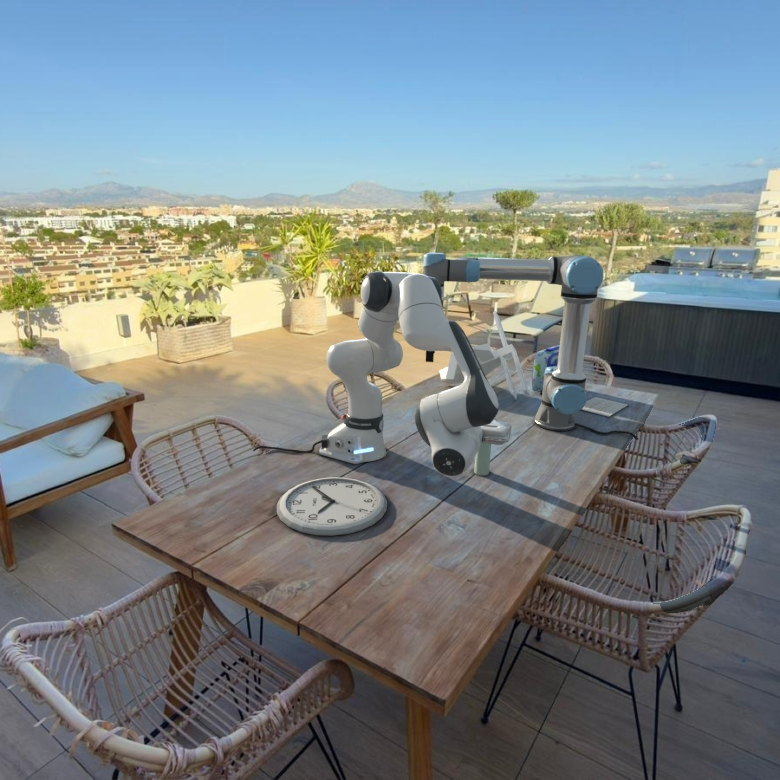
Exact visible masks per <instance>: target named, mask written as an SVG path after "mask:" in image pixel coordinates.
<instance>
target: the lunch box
mask: <svg viewBox="0 0 780 780" xmlns="http://www.w3.org/2000/svg"><path fill="white" fill-rule="evenodd" d="M559 346H560V344H559V345H553V346H550V347H546V348H545V349H542V350H539V351H538V352H537V353H536V354H535V356H534V358H533V365H532V376H531V377H532V378H531V390H532V391H533V392H537V393H542V392H543V382H544V373H545V369H546V368H547V367H553V366H557V364H558V355H559Z"/></svg>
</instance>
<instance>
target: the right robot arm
mask: <svg viewBox="0 0 780 780" xmlns="http://www.w3.org/2000/svg"><path fill="white" fill-rule="evenodd" d="M422 264H423V265H422V274H423V275H427V276H430V277H433V278H435V279H437V280H438V282H439V284H440V286H441V289H442V299H441V304H442V307H443V308H444V299H443V298H444V297H445V282H447V283H449V282H452V283H453V282H457V283H468V284H470V283H477V282H479V281H480V280H495V281H497V280H499V281H500V280H501V281H526V282H527V281H531V282H546V283H547V284H548V285H557V286H561V289H560V298H561V299H562V300H563V303H564V305H563V313H562V322H561V330H560V339H559V355H558V364H557V366H553V367H547V368H546V369H545V373H544V382H543V392H542V394H541V402H540V405H539V407H538V410H537V411H536V413H535V417H534V424H535V425H536V426H537V427H539V428H542V429H544V430H549V431H556V432H567V431H572V430H574V429H575V428H576V426H577V427H579V428H582V429H584V430H588V431H591V432H593V433H595V434H598V435H602V436H603V435H611V434H625V435H629V436H631V437H633V438H634V439H635V440H639V438H638V436H637V435H636V434H634V433H633V432H631V431H626V430H609V431H599V430H596V429H595V428H591V427H589V426H586V425H584V424H580V423H577V422H576V418H575V417H576V416H575V414H576V413H579V412H580V411H582V410H581V409H582V408H583V407H584V406H585V404H586V401H588V397H587V392H586V389H585V388H586V383H587V382H586V381H587V375H586V374H585V373H584V371H583V369H584V361H585V355H586V347H587V339H588V338H587V337H588V330H589V324H590V318H591V317H590V316H591V308H592V303H593V302H594V301H596V300H597V298H598V294H599V293H598V291H599V288H601V285H602V284H603V281H604V269H603V267H602V265H601V264H600V262H599V261H597V260H596V259H595V258H594V257H592V256H587V255H581V254H574V255H573V254H572V255H565V256H551V257H549V258H548V259H545V258H544V259H543V258H542V259H541V258H540V259H539V258H501V257H500V258H497V257H496V258H495V257H494V258H492V257H466V256H460V257H457V258H455V259H451V258H449V259H448V258H447V257H446V253H444V252H427V253H425V254H424V255H423V263H422ZM435 353H436V351H425V362H426V363H434V359H435V357H434V356H435Z"/></svg>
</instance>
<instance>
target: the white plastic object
mask: <svg viewBox="0 0 780 780" xmlns="http://www.w3.org/2000/svg"><path fill="white" fill-rule="evenodd" d="M492 315H493V319H494V321H495V324H496V325H495V326H496V328H497V332H498V335H499V338H500V342H501V345H502V347H500V348H498V349H496V350H495V349H493V348H492V347H491V346H490V344H489V343H488V342H487V343H483V344H479V345H473V346H472V348H473V350H474V353H475V355H476V357H477V359H478V361H479V363H480V366H481V368H482V370H483V372H484V374H485V376H486V377H487V375H489V374H490V373H492V372H494V371H495V370H496V369H497V368H499V367H500V366H502V370H503V373H504V376H505V380H506V383H507V386H508V390H509V393H510V394H511V395H512V397H513V398H514V399H515V400H517V392H516V391H517V390H516V388H515V385H514V381H513V378H512V375H511V371H510V369H509V365H508V361H510V360H513V363H514V366H515V369H516V372H517V376H518V380H519V382H520V385H521V389H522V391H523V393H524V395H525V396H526V397H528V396H531V395H530V390H529V388H528V387H529V386H528V384H527V381H526V378H525V375H524V371H523V369H522V368H523V367H522V366H521V362H520V359H519V355H518V352H517V349H516V347H515V346H514V345H513V343H511V344H508V341H507V337H506V334H505V331H504V328H503V325H502V321H501V318H500V315H499V314H498V312H497V311H496V310H495V311H492ZM438 372H439V376H440V381H442V383H443V384H444V385H445V386H449V385H458V384H459V385H460V384H462V383H463V382H464V376H463V374H462V371H461V369H460V367H459V365H458V362H457V360H456V358H455V355H454V353H453V352H451V353H450V357H449V362H448V366H446V367H444V368H442V369H440V370H439V371H438Z"/></svg>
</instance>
